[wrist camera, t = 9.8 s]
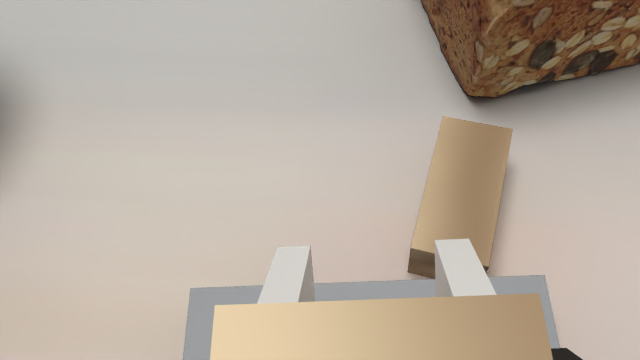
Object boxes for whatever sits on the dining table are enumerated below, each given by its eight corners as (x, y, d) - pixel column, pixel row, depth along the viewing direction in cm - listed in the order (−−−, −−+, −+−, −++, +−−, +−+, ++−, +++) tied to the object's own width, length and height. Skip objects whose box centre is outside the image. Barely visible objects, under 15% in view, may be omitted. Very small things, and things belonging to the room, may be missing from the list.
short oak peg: (407, 273, 23) (410, 247, 21) (436, 151, 26) (442, 116, 23) (476, 291, 22) (488, 266, 20) (499, 164, 25) (512, 129, 23)
